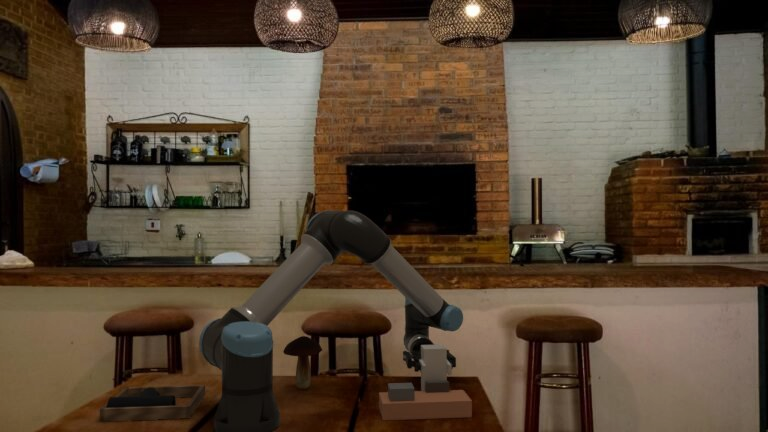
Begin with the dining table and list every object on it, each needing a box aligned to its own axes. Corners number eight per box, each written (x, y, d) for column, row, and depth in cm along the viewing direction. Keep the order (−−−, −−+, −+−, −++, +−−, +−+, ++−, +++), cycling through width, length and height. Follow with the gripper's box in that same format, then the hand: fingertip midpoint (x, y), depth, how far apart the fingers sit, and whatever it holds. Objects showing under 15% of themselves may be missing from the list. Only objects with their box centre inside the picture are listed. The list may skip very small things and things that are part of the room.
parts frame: (99, 421, 138) (99, 409, 138) (125, 398, 156) (125, 387, 156) (189, 418, 140) (190, 406, 140) (205, 395, 158) (205, 385, 158)
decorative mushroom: (308, 396, 157) (308, 341, 157) (275, 391, 162) (275, 338, 162) (329, 386, 167) (329, 334, 167) (298, 381, 172) (297, 331, 172)
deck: (382, 420, 139) (382, 391, 139) (376, 399, 155) (376, 373, 155) (471, 417, 141) (471, 388, 141) (456, 396, 157) (456, 371, 157)
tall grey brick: (424, 394, 151) (424, 349, 151) (421, 389, 156) (420, 345, 156) (446, 394, 152) (446, 348, 152) (442, 388, 157) (442, 344, 157)
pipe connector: (122, 385, 150) (182, 383, 152) (122, 405, 150) (182, 403, 152) (106, 400, 139) (170, 398, 140) (106, 422, 139) (170, 420, 141)
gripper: (453, 361, 173) (473, 383, 150) (390, 363, 171) (401, 386, 148) (453, 336, 173) (473, 354, 150) (390, 338, 171) (400, 357, 148)
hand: (437, 370), depth 149 cm, fingers closed on tall grey brick, 6 cm apart
